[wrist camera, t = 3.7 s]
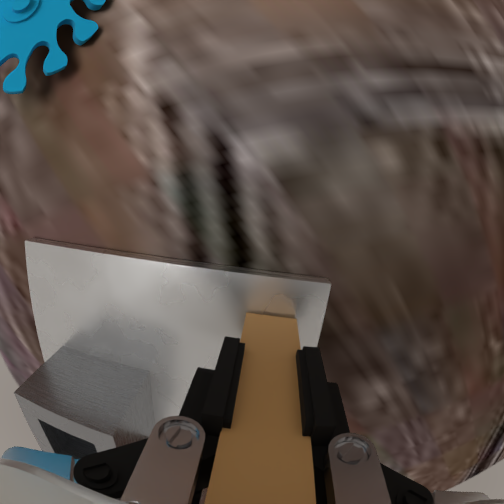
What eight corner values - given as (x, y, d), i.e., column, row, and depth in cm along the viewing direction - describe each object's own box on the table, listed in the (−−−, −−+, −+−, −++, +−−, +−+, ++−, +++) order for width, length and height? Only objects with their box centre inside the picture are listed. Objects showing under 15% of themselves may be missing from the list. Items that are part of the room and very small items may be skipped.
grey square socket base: (327, 277, 13) (365, 343, 8) (283, 448, 16) (285, 520, 11) (33, 237, 14) (-41, 265, 8) (63, 398, 16) (24, 447, 11)
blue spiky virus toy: (49, 118, 10) (-95, 77, 3) (45, 124, 14) (-66, 91, 7) (156, -43, 9) (29, -89, 2) (122, -7, 13) (21, -44, 6)
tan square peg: (296, 318, 13) (318, 551, 3) (288, 359, 13) (292, 571, 4) (246, 312, 13) (195, 542, 3) (241, 353, 13) (198, 563, 4)
